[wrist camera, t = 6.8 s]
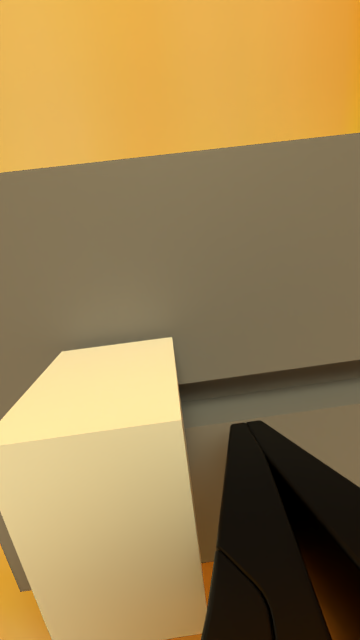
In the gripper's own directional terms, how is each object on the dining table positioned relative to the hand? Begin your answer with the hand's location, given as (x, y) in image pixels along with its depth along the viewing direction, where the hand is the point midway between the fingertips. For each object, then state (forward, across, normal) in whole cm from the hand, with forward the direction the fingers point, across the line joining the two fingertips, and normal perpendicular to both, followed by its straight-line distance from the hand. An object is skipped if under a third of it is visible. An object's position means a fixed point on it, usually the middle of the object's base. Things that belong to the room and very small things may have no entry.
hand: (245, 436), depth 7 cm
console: (+4, -2, 0) cm, 4 cm away
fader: (+3, +3, 0) cm, 4 cm away
